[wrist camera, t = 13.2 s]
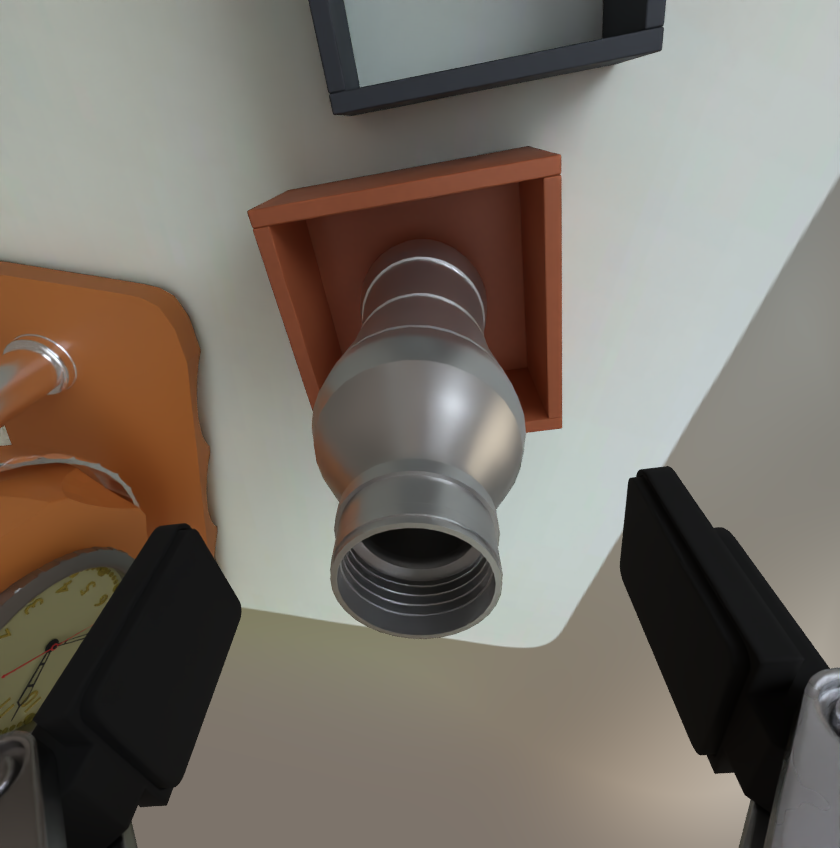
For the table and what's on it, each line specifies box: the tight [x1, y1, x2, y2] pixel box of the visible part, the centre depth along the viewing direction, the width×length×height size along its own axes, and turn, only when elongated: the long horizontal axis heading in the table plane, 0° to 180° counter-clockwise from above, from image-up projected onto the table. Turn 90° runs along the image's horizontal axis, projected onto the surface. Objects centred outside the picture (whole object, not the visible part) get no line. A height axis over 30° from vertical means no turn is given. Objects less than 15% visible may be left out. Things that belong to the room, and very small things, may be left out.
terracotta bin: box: [247, 146, 562, 433], centre depth 24 cm, size 12×12×7 cm
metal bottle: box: [312, 239, 526, 639], centre depth 18 cm, size 6×7×20 cm
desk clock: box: [0, 261, 217, 735], centre depth 26 cm, size 12×30×20 cm, turn 171°
